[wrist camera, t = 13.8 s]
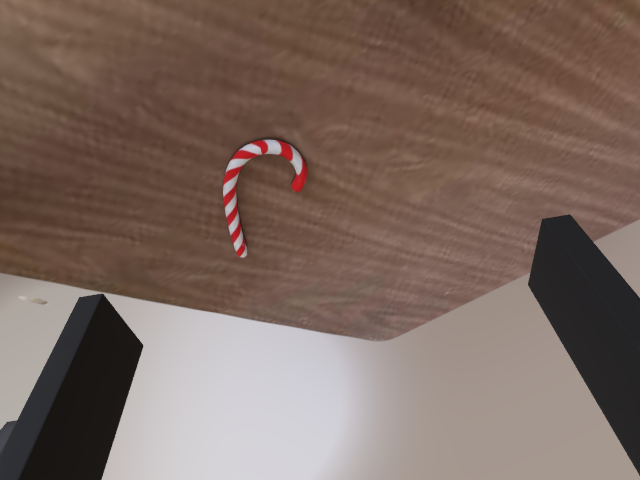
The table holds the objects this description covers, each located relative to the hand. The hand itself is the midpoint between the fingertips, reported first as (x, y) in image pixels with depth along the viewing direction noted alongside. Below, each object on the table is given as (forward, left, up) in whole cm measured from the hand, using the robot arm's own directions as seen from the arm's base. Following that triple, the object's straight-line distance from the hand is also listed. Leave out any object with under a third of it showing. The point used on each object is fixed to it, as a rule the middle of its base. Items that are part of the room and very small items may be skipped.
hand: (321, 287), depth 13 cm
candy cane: (-8, -15, -27) cm, 32 cm away
